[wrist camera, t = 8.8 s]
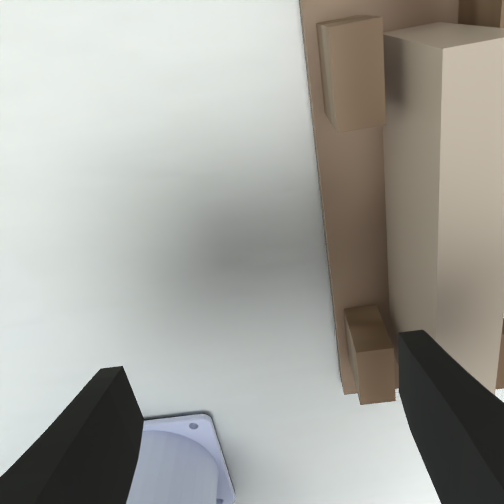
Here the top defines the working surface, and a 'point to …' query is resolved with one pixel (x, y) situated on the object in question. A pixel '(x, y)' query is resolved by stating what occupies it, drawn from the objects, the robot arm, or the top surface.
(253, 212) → the top surface
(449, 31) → the clay strip
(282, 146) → the top surface
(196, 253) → the top surface
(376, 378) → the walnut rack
